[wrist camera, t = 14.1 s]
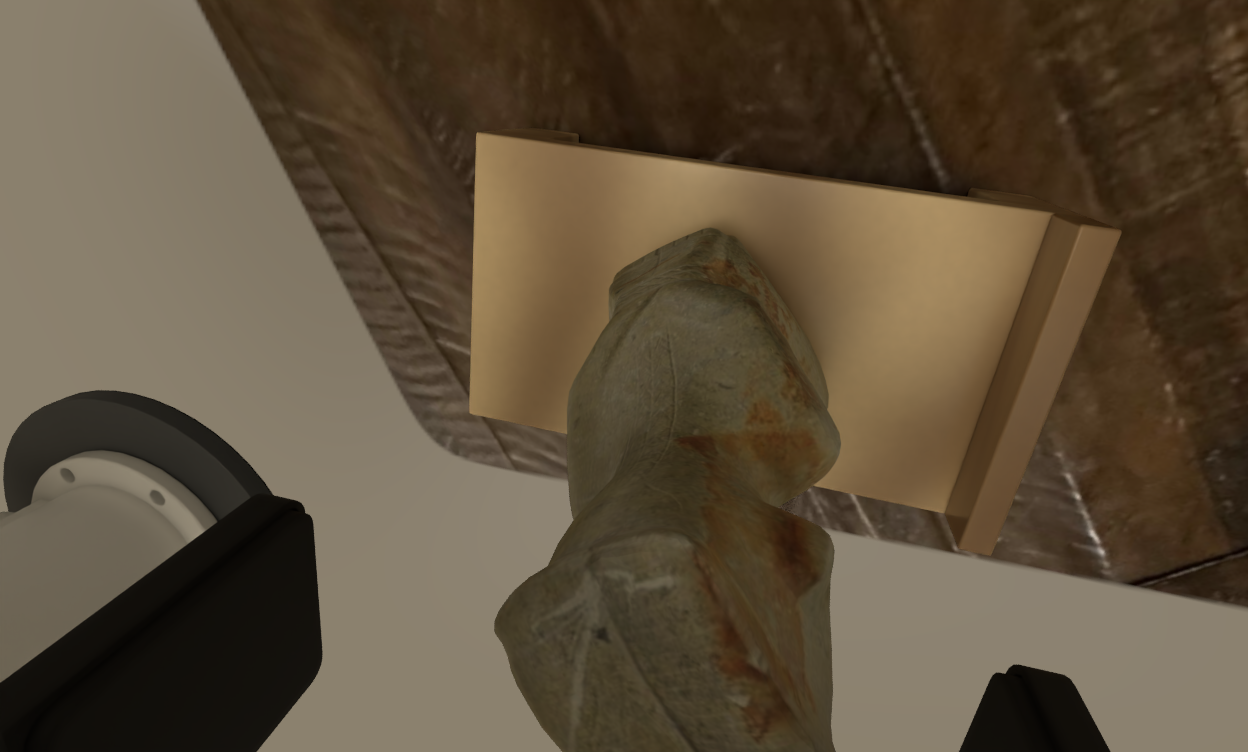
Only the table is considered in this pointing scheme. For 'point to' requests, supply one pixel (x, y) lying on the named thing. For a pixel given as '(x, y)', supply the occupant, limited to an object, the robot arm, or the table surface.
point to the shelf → (802, 303)
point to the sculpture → (687, 524)
